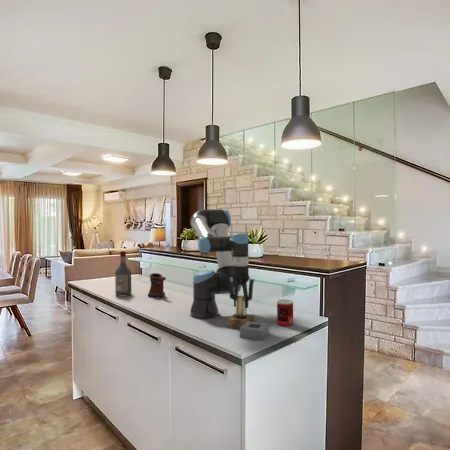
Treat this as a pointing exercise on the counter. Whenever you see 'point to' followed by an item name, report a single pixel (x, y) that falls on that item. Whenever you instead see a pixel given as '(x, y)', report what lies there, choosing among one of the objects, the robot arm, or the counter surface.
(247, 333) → the socket block
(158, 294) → the mug
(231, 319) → the block
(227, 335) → the counter surface
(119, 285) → the liquor
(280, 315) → the canned food
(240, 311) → the lock pin
